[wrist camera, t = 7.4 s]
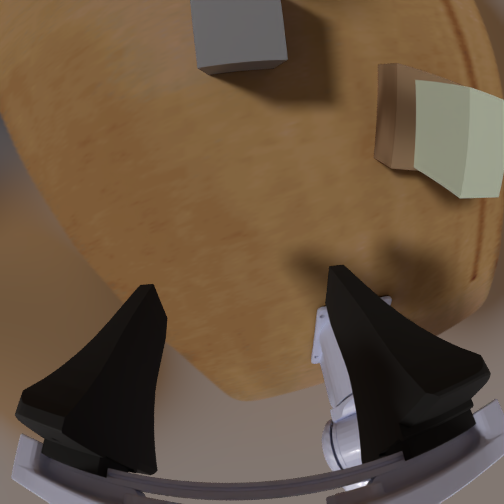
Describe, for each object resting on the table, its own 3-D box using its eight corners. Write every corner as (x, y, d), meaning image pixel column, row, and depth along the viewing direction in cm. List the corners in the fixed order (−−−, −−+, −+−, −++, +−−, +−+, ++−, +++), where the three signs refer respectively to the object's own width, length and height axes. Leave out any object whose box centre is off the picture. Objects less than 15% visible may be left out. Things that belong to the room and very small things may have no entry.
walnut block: (439, 163, 18) (461, 176, 15) (371, 156, 18) (391, 168, 15) (446, 85, 14) (471, 89, 11) (375, 64, 14) (397, 63, 11)
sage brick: (453, 168, 15) (498, 197, 11) (413, 167, 15) (459, 198, 11) (457, 89, 12) (509, 102, 7) (415, 79, 12) (469, 87, 7)
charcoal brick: (273, 68, 14) (287, 59, 10) (208, 75, 14) (197, 68, 10) (264, -10, 11) (274, -41, 6) (200, -4, 11) (187, -34, 6)
